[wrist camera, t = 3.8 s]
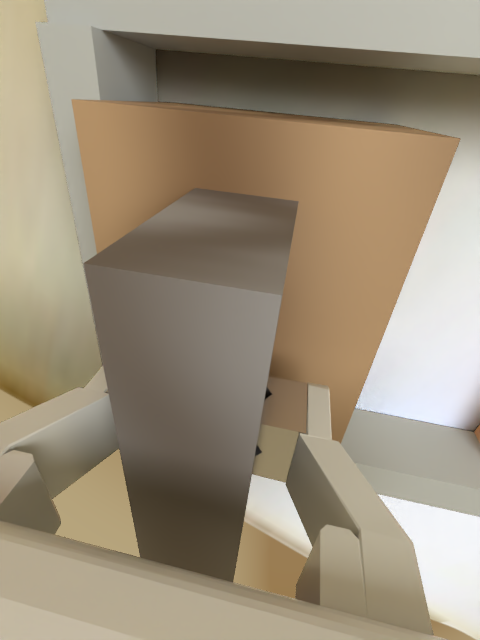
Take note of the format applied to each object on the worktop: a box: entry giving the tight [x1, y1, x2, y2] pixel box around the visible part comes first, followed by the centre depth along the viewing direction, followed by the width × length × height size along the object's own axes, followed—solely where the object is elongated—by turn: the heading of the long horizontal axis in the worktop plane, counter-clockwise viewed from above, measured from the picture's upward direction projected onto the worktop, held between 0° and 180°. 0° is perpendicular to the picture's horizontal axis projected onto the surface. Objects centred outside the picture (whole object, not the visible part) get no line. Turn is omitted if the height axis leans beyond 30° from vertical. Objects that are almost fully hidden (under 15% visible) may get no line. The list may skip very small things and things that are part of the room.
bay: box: [36, 0, 480, 517], centre depth 13 cm, size 20×19×4 cm
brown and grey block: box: [71, 99, 460, 582], centre depth 11 cm, size 8×12×10 cm, turn 175°
